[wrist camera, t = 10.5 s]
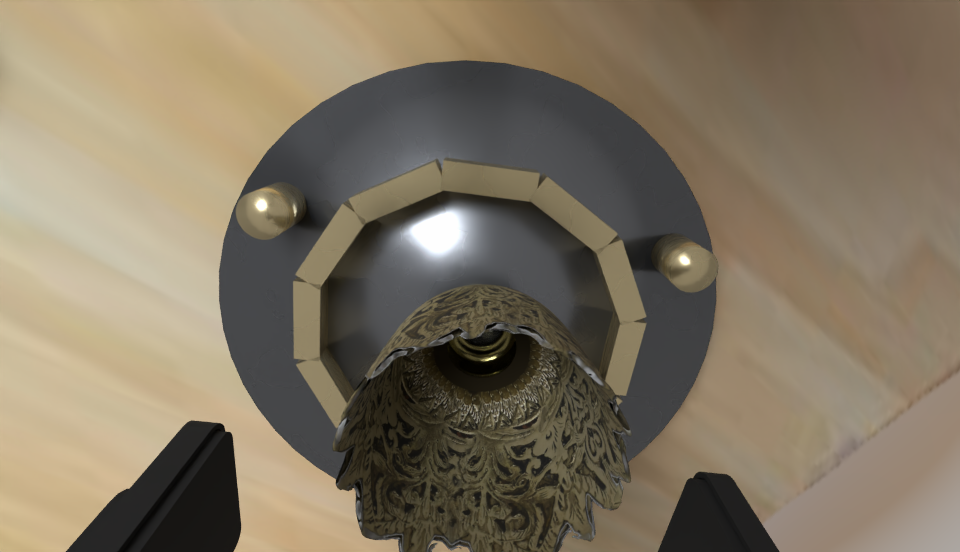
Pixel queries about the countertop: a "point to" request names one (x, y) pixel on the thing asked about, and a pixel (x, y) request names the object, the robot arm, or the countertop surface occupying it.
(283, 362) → the carrier plate
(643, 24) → the countertop surface
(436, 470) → the dark hollow rounded piece
